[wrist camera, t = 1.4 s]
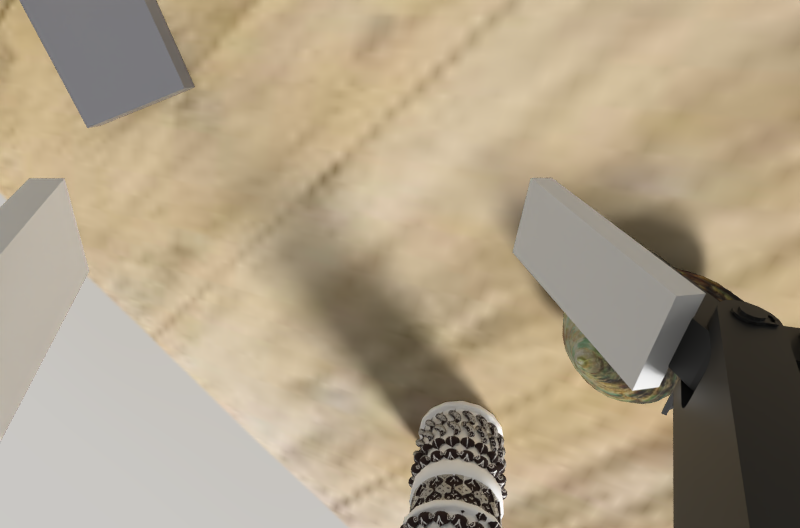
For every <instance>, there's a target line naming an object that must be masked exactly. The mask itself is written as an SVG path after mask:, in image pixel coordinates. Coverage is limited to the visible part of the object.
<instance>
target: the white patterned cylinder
mask: <svg viewBox="0 0 800 528" xmlns="http://www.w3.org/2000/svg"><path fill="white" fill-rule="evenodd" d="M418 432H419V436H420V439H418V440H416V445H417V446H418V447H420V450H419V451H415V452H414V453H413V455H414V461H415V464H413V465H412V467H411V473H412V477H411V478H410V479H409V485H410V487H411V488H412V489H411V495H410V501H409V502H410V512H409V514H408V515H407V516H406V517H405V518H404V521H403V525H402V526H401V527H400V528H503V527H502V524H501V519H502V517H503V500H504V499H505V498H506V496H507V491H506V490H505V489H504V486H505V483H506V477H505V476H504V475H503V473H504V471H505V467H506V461H505V459H504V456H505V448H504V447H503V445H504V439H503V432H502V426H501V425H500V424H499V422H498V421H497V419H496V418H495V416H494V415H493V414H492V413H490V412H489V411H487V410H486V409H484V408H483V407H481V406H480V405H477V404H473V403H469V402H465V401H451V402H444V403H442V404H440V405H437V406H435V407H433V408H431V409H430V410H429V411H428V413H427V414H426V415H425V416H424V417H423V418H422V421H421V425H420V429H419V431H418Z"/></svg>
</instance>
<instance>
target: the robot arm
mask: <svg viewBox="0 0 800 528" xmlns="http://www.w3.org/2000/svg"><path fill="white" fill-rule="evenodd" d="M513 253H514V255H515V256H516V257H517V258H518V259H519V260H520V261H521V263H522V264H523V265H524V266H525V267H526V268H527V270H528V271H529V272H530V273H531V274H532V275H533V276H534V278H535V279H536V280H537V281H538V282H539V283H540V285H541V286H542V287H543V288H544V289H545V290H546V292H547V293H548V294H549V295H550V296H551V297H552V298H553V300H554V301H555V302H556V303H557V304H558V305H559V307H560V308H561V309H562V310H563V311H564V312H565V313H566V315H567V316H568V317H569V318H570V319H571V320H572V322H573V323H574V324H575V325H576V326H577V327H578V329H579V330H580V331H581V332H582V333H583V334H584V335H585V337H586V338H587V339H588V340H589V341H590V342H591V344H592V345H593V346H594V347H595V348H596V349H597V350H598V352H599V353H600V354H601V355H602V356H603V357H604V359H605V360H606V361H607V362H608V363H609V364H610V366H611V367H612V368H613V369H614V370H615V371H616V372H617V374H618V375H619V376H620V377H621V378H622V379H623V381H624V382H625V383H626V384H627V385H628V386H629V387H630V389H631V390H632V391H634V390H641V389H649V388H657V387H659V386H660V384H661V382H662V380H663V378H664V376H665V374H666V372H667V370H668V368H670V369H671V370H672V371H673V372H674V373H675V374H676V375H677V376H678V377H679V379H678V381H677V383H676V385H675V387H674V389H673V391H672V393H671V395H670V396H669V398H668V400H667V402H666V404H665V406H664V408H663V410H662V414H664V415H667V413H668V411H669V410H670V409H673V486H674V528H800V328H794V327H787V326H783V325H782V323H781V322H780V320H779V319H777V318H776V317H775V316H774V315H772V314H771V313H769V312H767V311H766V310H764V309H762V308H760V307H758V306H755V305H752V304H749V303H747V302H742V301H737V300H723V301H721V302H719V301H718V300H717V299H715V298H714V297H713V296H711V295H710V294H709V293H707V292H706V291H705V290H703V289H702V288H701V287H699V286H698V285H697V284H695V283H694V282H693V281H691V280H690V279H689V278H687V277H686V276H682V273H681V272H679V271H678V270H677V269H675V268H674V267H671V266H670V264H669V263H667V262H666V261H665V260H663V259H662V258H661V257H659V256H658V255H657V254H654V253H652V252H650V251H648V250H647V249H646V248H644V247H643V246H642V245H640V244H639V243H638V242H636V241H635V240H634V239H632V238H631V237H630V236H628V235H627V234H626V233H624V232H623V231H622V230H620V229H619V228H618V227H617V226H615V225H614V224H613V223H611V222H610V221H609V220H607V219H606V218H605V217H603V216H602V215H601V214H599V213H598V212H597V211H595V210H594V209H593V208H591V207H590V206H589V205H587V204H586V203H585V202H583V201H582V200H581V199H579V198H578V197H577V196H575V195H574V194H573V193H571V192H570V191H569V190H567V189H566V188H565V187H563V186H562V185H561V184H559V183H558V182H557V181H555V180H554V179H553V178H531V179H530V183H529V187H528V191H527V196H526V200H525V204H524V208H523V212H522V216H521V220H520V224H519V228H518V232H517V236H516V240H515V245H514V249H513ZM88 273H89V268H88V264H87V260H86V257H85V253H84V249H83V245H82V242H81V238H80V234H79V231H78V227H77V223H76V219H75V216H74V212H73V208H72V205H71V201H70V197H69V193H68V190H67V186H66V182H65V178H29V179H28V180H27V181H26V182H25V183H24V184H23V185H22V186H21V187H20V188H19V189H18V190H17V191H16V192H15V193H14V194H13V195H12V196H11V197H10V198H9V199H8V200H7V201H6V202H5V203H4V204H3V205H2V206H1V207H0V442H1V440H2V438H3V436H4V434H5V432H6V430H7V428H8V426H9V424H10V422H11V420H12V419H13V417H14V414H15V413H16V411H17V409H18V407H19V405H20V403H21V401H22V399H23V397H24V395H25V394H26V392H27V390H28V388H29V386H30V384H31V382H32V380H33V378H34V376H35V374H36V372H37V371H38V369H39V367H40V365H41V363H42V361H43V359H44V357H45V355H46V353H47V351H48V349H49V347H50V346H51V343H52V342H53V340H54V338H55V336H56V334H57V332H58V330H59V328H60V326H61V324H62V322H63V321H64V318H65V317H66V315H67V313H68V311H69V309H70V307H71V305H72V303H73V301H74V299H75V298H76V296H77V294H78V292H79V290H80V288H81V286H82V284H83V282H84V280H85V278H86V276H87V274H88Z"/></svg>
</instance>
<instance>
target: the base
mask: <svg viewBox="0 0 800 528" xmlns="http://www.w3.org/2000/svg"><path fill="white" fill-rule="evenodd" d="M20 2H21V4H22V6H23V8H24V10H25V12H26V13H27V15H28V17H29V19H30V21H31V23H32V25H33V27H34V29H35V30H36V32H37V34H38V36H39V38H40V40H41V42H42V44H43V45H44V47H45V49H46V51H47V53H48V55H49V57H50V59H51V60H52V62H53V64H54V66H55V68H56V70H57V72H58V74H59V76H60V77H61V79H62V81H63V83H64V85H65V87H66V89H67V91H68V92H69V94H70V96H71V98H72V100H73V102H74V104H75V106H76V107H77V109H78V111H79V113H80V115H81V117H82V119H83V121H84V122H85V124H86V126H87V128H90V127H96V126H101V125H103V124H106V123H108V122H110V121H113V120H115V119H118V118H120V117H123V116H125V115H128V114H130V113H133V112H135V111H138V110H140V109H143V108H145V107H147V106H150V105H152V104H155V103H157V102H160V101H162V100H165V99H167V98H170V97H172V96H175V95H177V94H180V93H182V92H184V91H187V90H189V89H192V88H194V87H195V86H194V84H193V82H192V79H191V77H190V75H189V73H188V71H187V68H186V66H185V64H184V62H183V59H182V57H181V55H180V53H179V51H178V48H177V46H176V44H175V42H174V39H173V37H172V35H171V33H170V30H169V28H168V26H167V24H166V22H165V19H164V17H163V15H162V13H161V10H160V8H159V6H158V4H157V1H156V0H20Z"/></svg>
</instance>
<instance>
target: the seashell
mask: <svg viewBox="0 0 800 528" xmlns="http://www.w3.org/2000/svg"><path fill="white" fill-rule="evenodd" d="M677 270H678V269H677ZM678 271H679V272H681V273H682V276H686V277H687V278H689V279H690V280H691V281H693V282H694V283H695V284H697V285H698V286H699V287H701V288H702V289H703V290H705V291H706V292H707V293H709V294H710V295H711V296H713V297H714V298H715V299H717V300H718V301H719V302H721V301H723V300H737V301H742V302H744V301H743V300H741V299H740V298H739V297H737V296H736V295H734V294H733V293H732V292H730V291H729V290H727V289H725V288H724V287H722V286H721V285H719V284H718V283H716V282H714V281H712V280H710V279H708V278H706V277H704V276H701V275H697V274H694V273H691V272H687V271H683V270H678ZM563 341H564V345H565V349H566V352H567V354H568V356H569V358H570V360H571V362H572V364H573V365H574V367H575V369H576V370H577V371H578V372H579V373H580V375H581V376H582V377H583V378H584V379H585V381H586V382H587V383H588V384H590V385H591V386H592V387H593V388H594V389H596V390H598V391H599V392H600V393H602V394H604V395H606V396H607V397H610V398H613V399H616V400H619V401H625V402H631V403H640V404H645V403H652V402H656V401H659V400H661V399H662V398H664V397H667V396H669V395H670V394H671V393H672V391H673V389H674V387H675V385H676V383H677V381H678V379H679V377H678V376H677V375H676V374H675V373H674V372H673V371H672V370H671V369H670V368H668V370H667V372H666V374H665V376H664V378H663V380H662V382H661V384H660V386H659V387H657V388H649V389H641V390H634V391H632V390H631V389H630V387H629V386H628V385H627V384H626V383H625V382H624V381H623V379H622V378H621V377H620V376H619V375H618V374H617V372H616V371H615V370H614V369H613V368H612V367H611V366H610V364H609V363H608V362H607V361H606V360H605V359H604V357H603V356H602V355H601V354H600V353H599V352H598V350H597V349H596V348H595V347H594V346H593V345H592V344H591V342H590V341H589V340H588V339H587V338H586V337H585V335H584V334H583V333H582V332H581V331H580V330H579V329H578V327H577V326H576V325H575V324H574V323H573V322H572V320H571V319H570V318H569V317H568V316H567V315H566V313H564V319H563Z"/></svg>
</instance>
